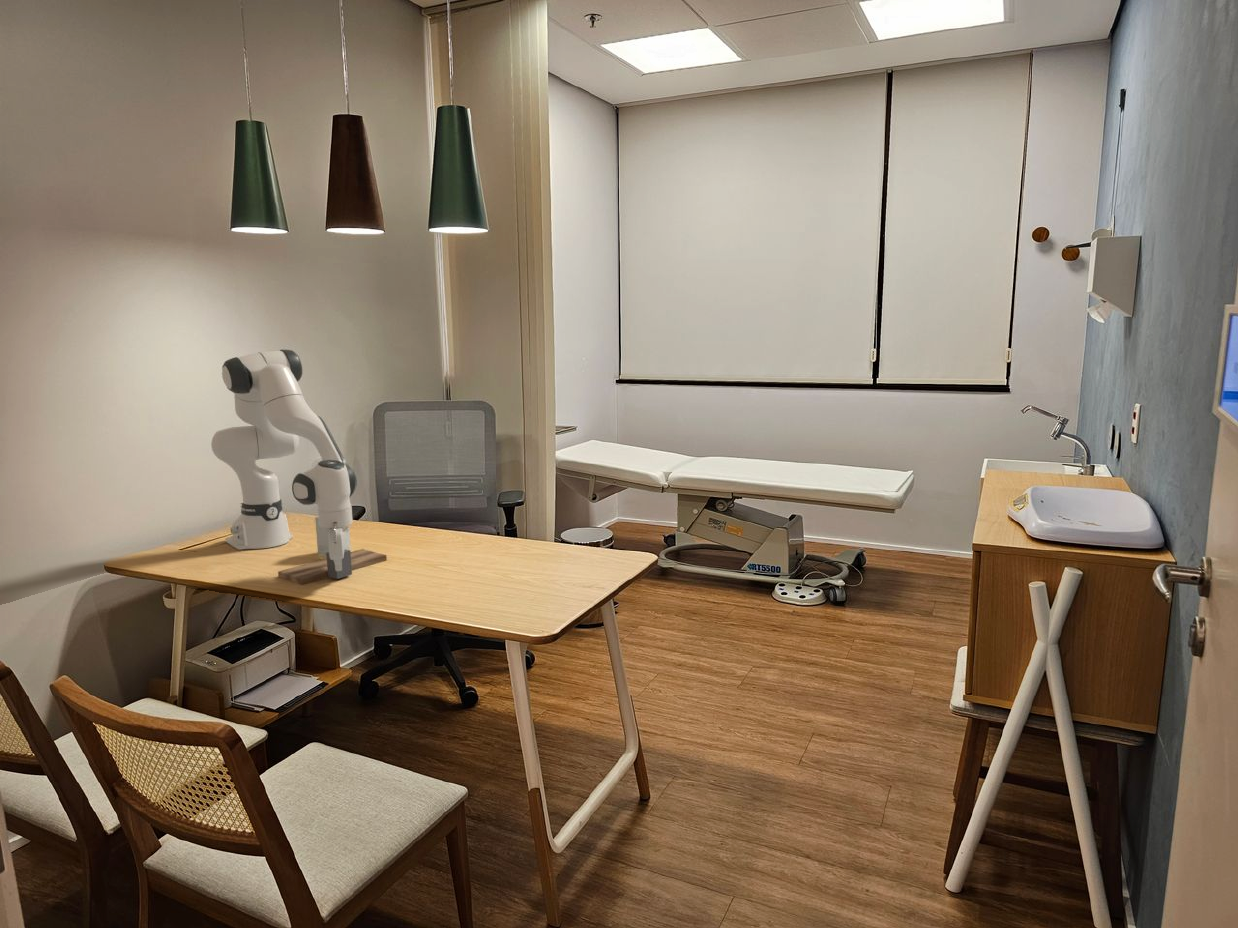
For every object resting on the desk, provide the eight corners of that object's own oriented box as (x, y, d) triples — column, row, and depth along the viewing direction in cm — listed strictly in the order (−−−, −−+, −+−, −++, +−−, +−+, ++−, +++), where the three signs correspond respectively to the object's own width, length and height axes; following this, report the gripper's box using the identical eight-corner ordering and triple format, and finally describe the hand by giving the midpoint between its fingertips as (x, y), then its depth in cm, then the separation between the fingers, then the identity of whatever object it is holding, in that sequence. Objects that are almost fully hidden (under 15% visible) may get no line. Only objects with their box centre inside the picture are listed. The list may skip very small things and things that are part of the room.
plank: (278, 576, 230) (277, 571, 229) (362, 553, 251) (362, 548, 251) (301, 584, 222) (301, 578, 222) (386, 560, 244) (386, 554, 244)
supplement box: (339, 557, 248) (336, 517, 246) (317, 556, 249) (314, 516, 247) (351, 551, 255) (348, 512, 253) (330, 550, 256) (327, 511, 254)
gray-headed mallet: (314, 573, 230) (312, 549, 229) (329, 568, 234) (327, 545, 233) (337, 578, 225) (335, 554, 224) (352, 574, 229) (350, 550, 228)
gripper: (346, 526, 216) (350, 576, 219) (348, 509, 235) (352, 555, 238) (321, 528, 214) (325, 578, 217) (325, 511, 234) (329, 557, 236)
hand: (339, 566), depth 227 cm, fingers closed on gray-headed mallet, 6 cm apart
